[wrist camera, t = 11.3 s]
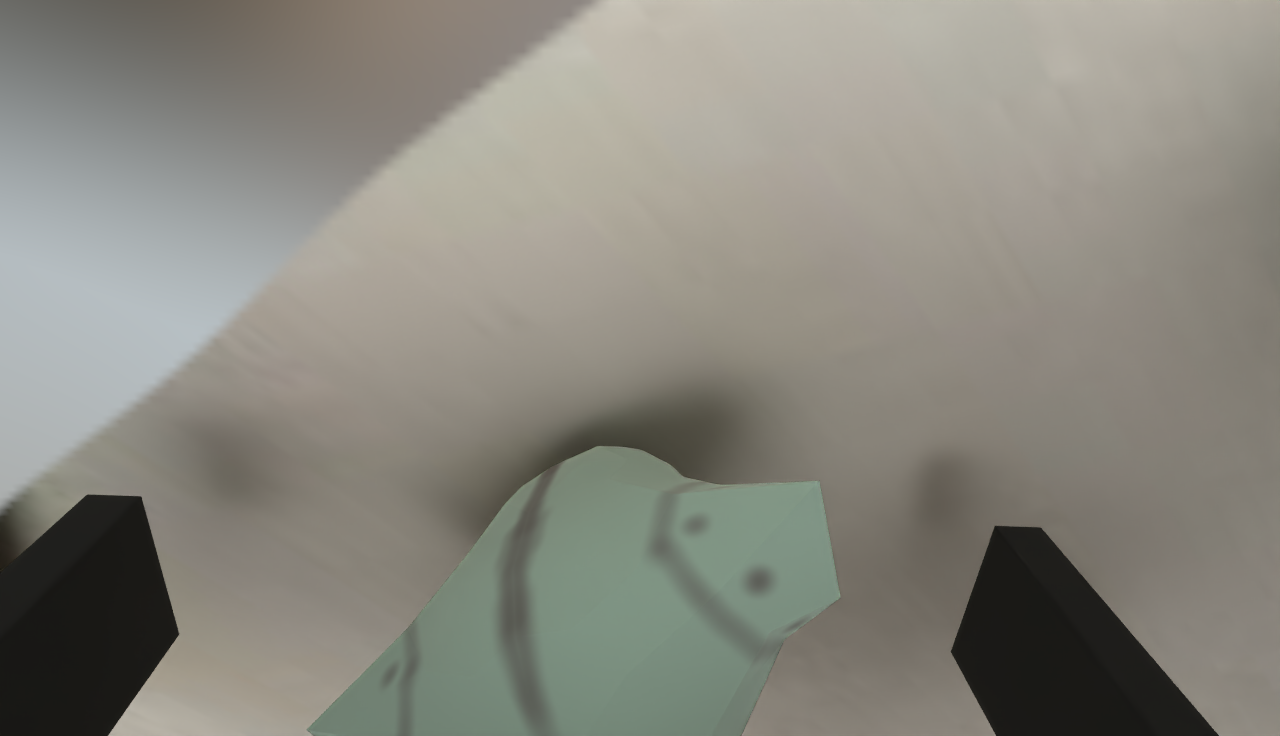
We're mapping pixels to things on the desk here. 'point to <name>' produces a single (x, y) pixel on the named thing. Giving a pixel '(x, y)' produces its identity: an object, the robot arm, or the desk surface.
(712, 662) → the robot head
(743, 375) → the desk surface
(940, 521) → the desk surface
